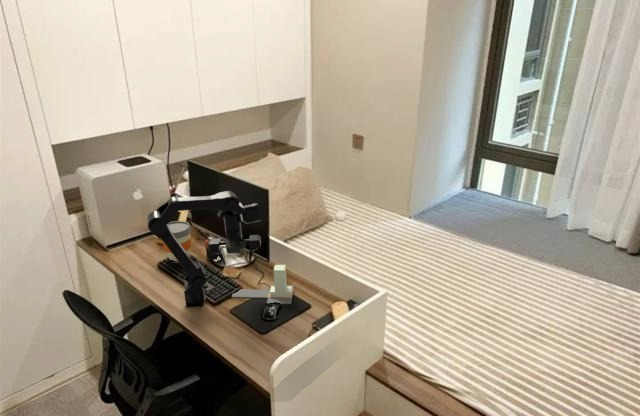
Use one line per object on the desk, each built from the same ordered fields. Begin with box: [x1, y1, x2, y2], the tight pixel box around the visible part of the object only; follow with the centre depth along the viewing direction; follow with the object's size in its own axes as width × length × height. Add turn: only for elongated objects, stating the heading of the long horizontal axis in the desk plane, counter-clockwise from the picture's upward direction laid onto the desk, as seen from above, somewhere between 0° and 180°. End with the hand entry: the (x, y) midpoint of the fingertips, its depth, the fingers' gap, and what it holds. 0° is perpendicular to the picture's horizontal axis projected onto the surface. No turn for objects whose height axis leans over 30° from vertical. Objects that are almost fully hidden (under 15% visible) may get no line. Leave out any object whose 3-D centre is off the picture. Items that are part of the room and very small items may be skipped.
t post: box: [269, 264, 292, 297], centre depth 169 cm, size 8×4×12 cm, turn 88°
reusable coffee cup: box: [162, 220, 192, 261], centre depth 195 cm, size 13×13×15 cm
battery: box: [204, 236, 219, 262], centre depth 195 cm, size 4×7×10 cm, turn 49°
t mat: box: [231, 284, 295, 305], centre depth 171 cm, size 23×12×1 cm, turn 87°
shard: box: [221, 265, 242, 279], centre depth 187 cm, size 11×8×2 cm
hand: (237, 263), depth 168 cm, fingers open, 9 cm apart
